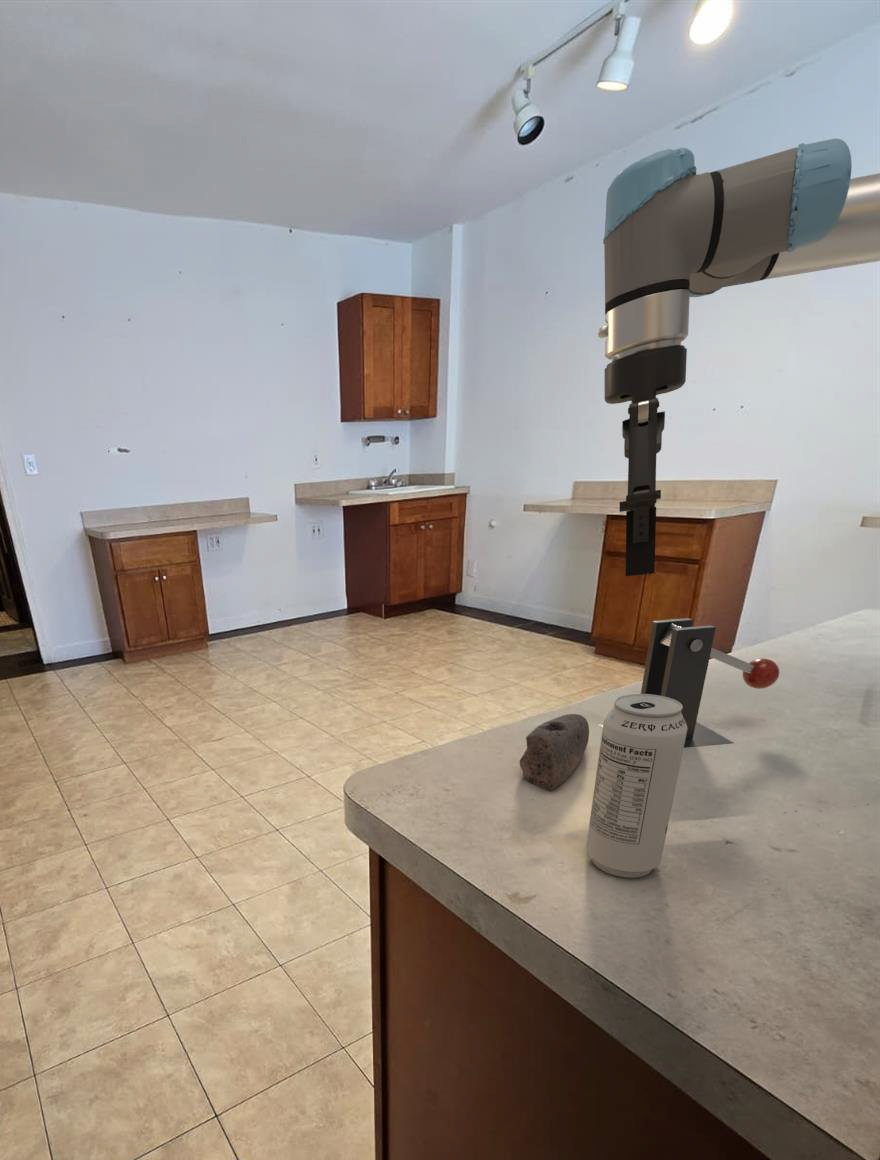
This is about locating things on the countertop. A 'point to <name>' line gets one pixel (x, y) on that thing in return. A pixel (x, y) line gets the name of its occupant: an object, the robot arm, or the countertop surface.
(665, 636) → the red knob lever
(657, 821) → the energy drink can
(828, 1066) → the countertop surface
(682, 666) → the bracket
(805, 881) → the countertop surface
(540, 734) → the perforated stone tool
